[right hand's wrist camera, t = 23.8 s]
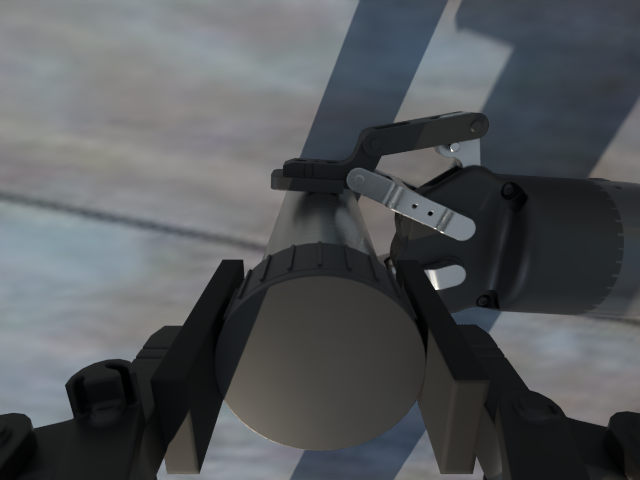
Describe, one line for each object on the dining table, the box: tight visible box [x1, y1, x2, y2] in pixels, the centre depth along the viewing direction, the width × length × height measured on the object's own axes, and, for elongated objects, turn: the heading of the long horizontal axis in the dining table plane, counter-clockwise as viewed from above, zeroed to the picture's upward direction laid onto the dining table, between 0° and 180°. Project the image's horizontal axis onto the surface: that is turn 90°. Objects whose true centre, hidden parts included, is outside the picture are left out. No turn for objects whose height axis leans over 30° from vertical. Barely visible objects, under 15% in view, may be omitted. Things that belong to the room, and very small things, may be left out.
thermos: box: [262, 189, 379, 262], centre depth 19 cm, size 5×5×17 cm
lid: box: [214, 241, 426, 451], centre depth 12 cm, size 6×6×2 cm
